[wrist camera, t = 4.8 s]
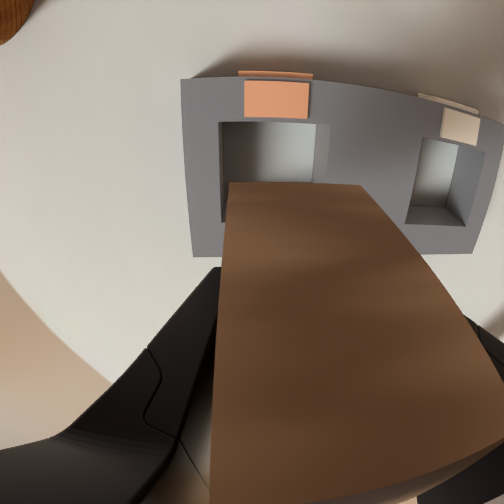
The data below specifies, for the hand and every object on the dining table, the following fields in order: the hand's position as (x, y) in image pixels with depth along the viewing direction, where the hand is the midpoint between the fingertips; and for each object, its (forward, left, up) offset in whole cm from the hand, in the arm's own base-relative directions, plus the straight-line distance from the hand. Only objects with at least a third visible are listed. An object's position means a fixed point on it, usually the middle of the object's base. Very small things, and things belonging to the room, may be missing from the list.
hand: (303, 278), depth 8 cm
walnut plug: (0, 0, -2) cm, 2 cm away
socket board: (-6, 0, -11) cm, 13 cm away
